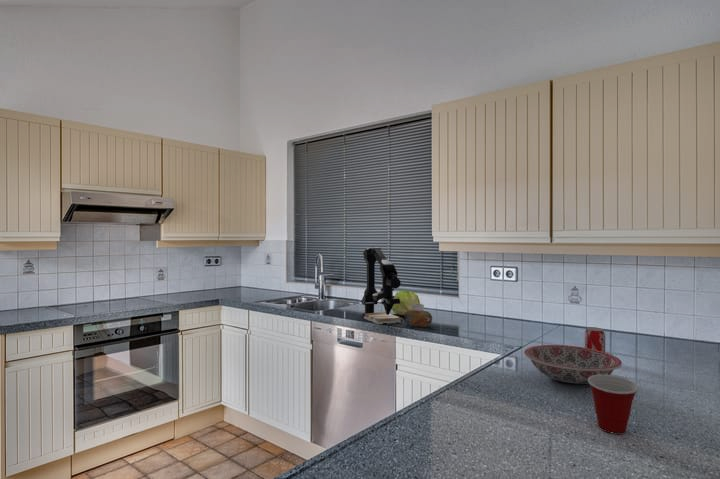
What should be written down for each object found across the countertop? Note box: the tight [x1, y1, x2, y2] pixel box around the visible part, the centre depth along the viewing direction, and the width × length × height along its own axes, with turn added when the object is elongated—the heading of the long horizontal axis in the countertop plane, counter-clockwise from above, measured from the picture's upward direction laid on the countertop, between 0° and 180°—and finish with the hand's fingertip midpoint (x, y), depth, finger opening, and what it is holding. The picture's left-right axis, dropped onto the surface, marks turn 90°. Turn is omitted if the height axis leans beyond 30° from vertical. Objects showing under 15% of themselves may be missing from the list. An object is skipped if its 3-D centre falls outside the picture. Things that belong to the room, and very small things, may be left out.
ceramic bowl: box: [523, 344, 623, 385], centre depth 144 cm, size 29×29×8 cm
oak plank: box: [368, 313, 401, 322], centre depth 243 cm, size 14×13×2 cm
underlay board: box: [363, 311, 402, 325], centre depth 245 cm, size 18×14×3 cm
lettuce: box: [391, 290, 421, 316], centre depth 259 cm, size 17×24×14 cm
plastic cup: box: [588, 374, 639, 434], centre depth 107 cm, size 11×11×12 cm
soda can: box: [584, 326, 606, 353], centre depth 167 cm, size 7×7×12 cm
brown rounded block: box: [403, 310, 433, 328], centre depth 230 cm, size 15×3×8 cm, turn 62°
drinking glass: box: [412, 303, 425, 311], centre depth 238 cm, size 7×7×10 cm
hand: (387, 314), depth 238 cm, fingers closed
